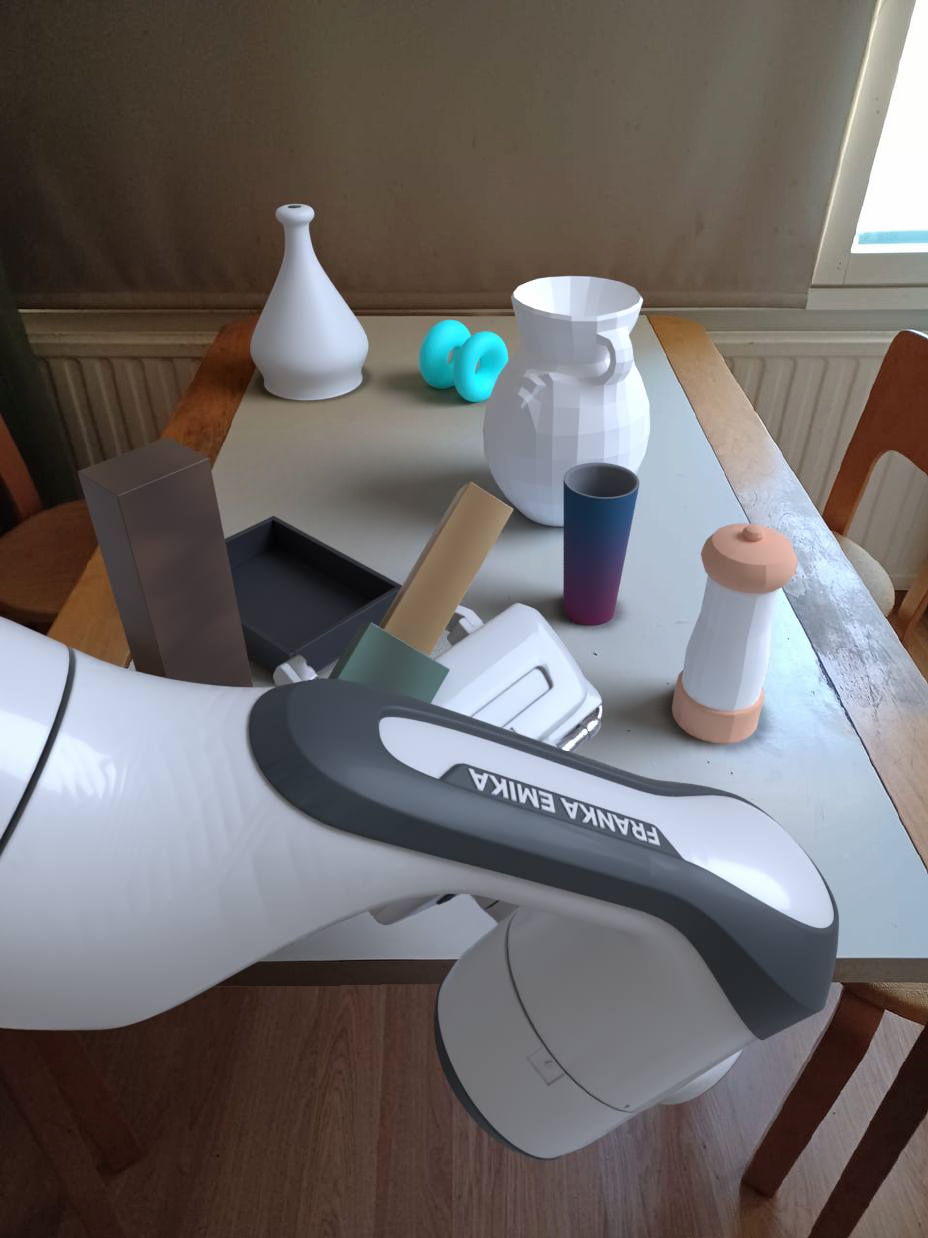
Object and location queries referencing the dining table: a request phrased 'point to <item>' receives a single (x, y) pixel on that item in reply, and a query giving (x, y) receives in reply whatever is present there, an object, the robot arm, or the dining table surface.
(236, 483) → the dining table surface
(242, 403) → the dining table surface
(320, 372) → the vase
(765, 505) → the dining table surface
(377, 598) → the pan
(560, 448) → the pitcher
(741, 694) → the pepper shaker
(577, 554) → the cup
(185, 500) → the shelf post
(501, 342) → the donuts
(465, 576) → the scrub brush
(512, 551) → the dining table surface
